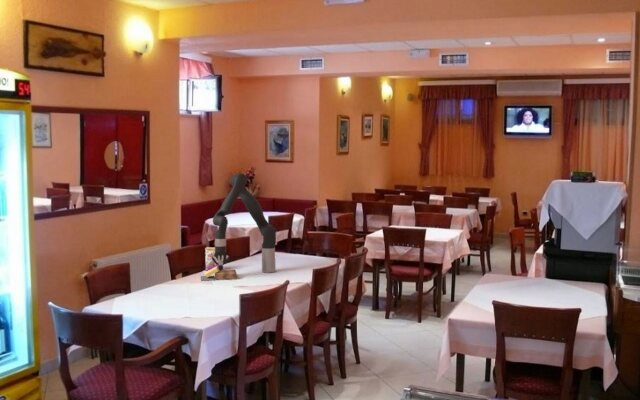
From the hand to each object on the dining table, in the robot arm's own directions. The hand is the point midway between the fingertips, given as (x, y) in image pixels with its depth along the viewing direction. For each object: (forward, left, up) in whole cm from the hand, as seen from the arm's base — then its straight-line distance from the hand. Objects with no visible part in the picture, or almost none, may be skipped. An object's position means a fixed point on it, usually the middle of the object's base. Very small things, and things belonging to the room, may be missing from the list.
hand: (220, 270), depth 424 cm
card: (+5, -1, -2) cm, 6 cm away
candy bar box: (+4, -26, -5) cm, 27 cm away
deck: (-3, 0, -5) cm, 6 cm away
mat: (+9, 0, -5) cm, 10 cm away
